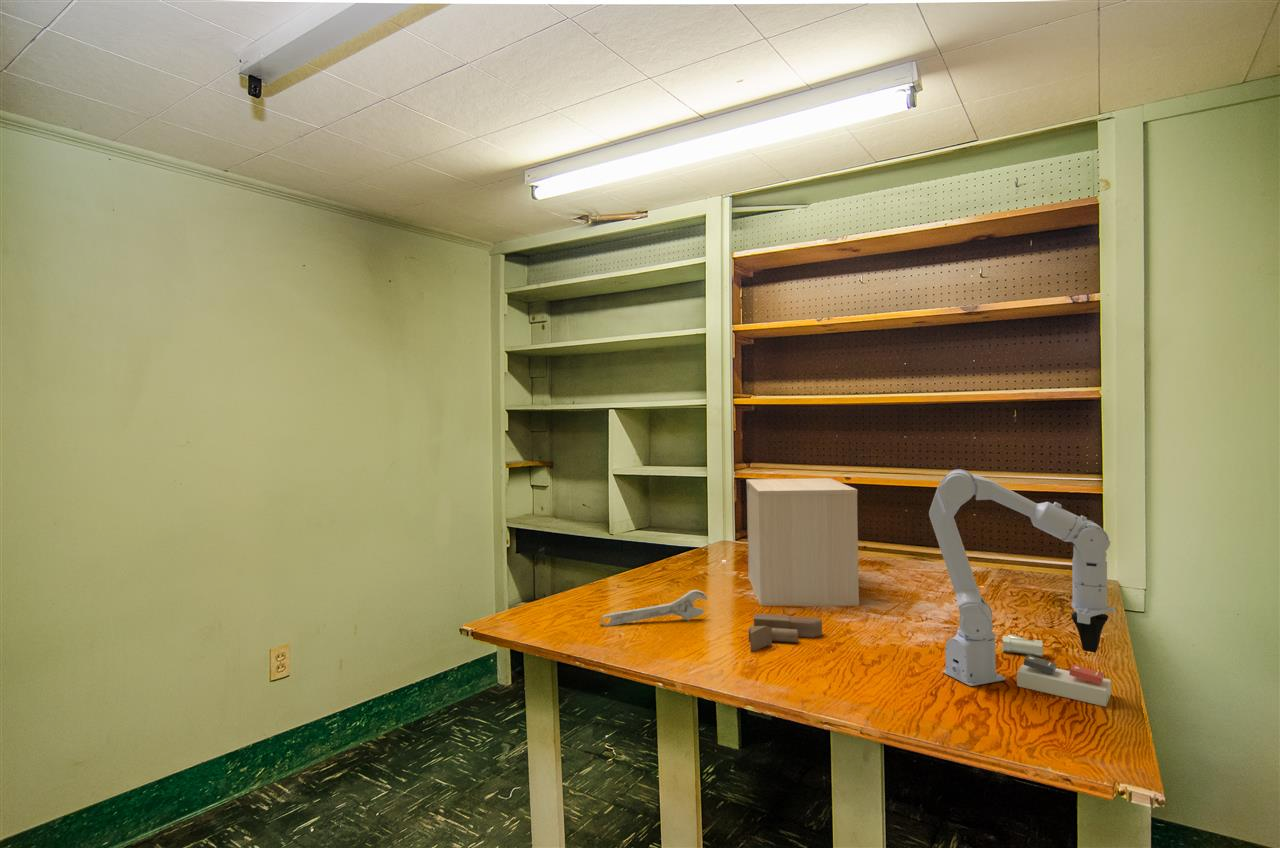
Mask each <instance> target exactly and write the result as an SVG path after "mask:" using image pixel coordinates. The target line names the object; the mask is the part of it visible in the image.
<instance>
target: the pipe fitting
mask: <svg viewBox="0 0 1280 848" xmlns="http://www.w3.org/2000/svg"><path fill="white" fill-rule="evenodd" d="M1002 652H1003V653H1009V654H1011V653H1013V654H1021V655H1026V656H1027V655H1031V656H1034V657H1037V658H1043V657H1044V644H1043V641H1042V640H1039V639H1034V640H1031V639H1028V638H1025V637H1022V636H1019V635H1016V634H1013V633H1012V634H1011V633H1010V634H1008V635H1003V636H1002Z"/></svg>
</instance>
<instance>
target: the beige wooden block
mask: <svg viewBox="0 0 1280 848" xmlns="http://www.w3.org/2000/svg"><path fill="white" fill-rule="evenodd" d="M745 482H746V508H747V509H746V513H747V514H746V515H747V519H746V520H747V521H746V523H747V561H748V562H747V564H748V565H747V566H748V567H747V569H748V573H747V577H748V580H749V582H750V584H751V587H752V589H753V592H754V594H755V597H756V599H757V602H758V604H759V605H760V607H761V606H762V607H764V606H765V607H767V606H768V607H771V606H772V607H775V606H776V607H777V606H779V607H780V606H781V607H783V606H784V607H786V606H790V607H791V606H792V607H793V606H795V607H796V606H800V607H803V606H807V607H808V606H810V607H812V606H818V607H819V606H821V607H823V606H831V607H832V606H836V607H837V606H838V607H839V606H841V607H842V606H843V607H844V606H845V607H846V606H850V607H853V606H856V607H857V606H860V600H859V599H860V594H859V593H860V592H859V591H860V587H859V582H860V581H859V532H858V529H859V527H858V521H859V520H858V489H857V488H855V487H852V486H851V485H848V484H844V483H843V482H840V481H837V480H835V479H833V478H831V477H828V478H826V477H824V478H823V477H822V478H820V477H817V478H814V477H813V478H762V479H761V478H760V479H758V478H753V479H752V478H750V479H749V478H748V479H747V478H746V481H745Z"/></svg>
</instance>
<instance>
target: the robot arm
mask: <svg viewBox="0 0 1280 848" xmlns="http://www.w3.org/2000/svg"><path fill="white" fill-rule="evenodd" d="M973 496H975V500H976V501H987V500H991V501H993V502H996V503H998V504H1000V505H1002V506H1004V507H1007V508H1009V509H1011V510H1014V511H1016V512H1019V513H1020V514H1022V515H1024V516H1027V517H1029V519H1030V522H1031V524H1032V526H1033V527H1035V528H1037V529H1039V530H1041V531H1043V532H1044V533H1047V534H1049V535H1051V536H1053V537H1055V538H1056V539H1057V538H1058V539H1059V540H1061V541H1063V542H1065V543H1066V542H1067V543H1069V542H1070V543H1072V544H1073V548H1072V549H1073V556H1072V560H1071V561H1072V563H1071V564H1072V568H1071V569H1072V572H1071V573H1072V577H1071V579H1072V586H1071V587H1072V601H1071V602H1070V604H1071V605H1070V606H1071V609H1073V610H1074V612H1073V613H1072V614H1071V620H1072V621H1073V624H1074V625H1075V627H1076V629H1077V632H1078V635H1079V639H1080V643H1081V647H1082V649H1083V651H1084V652H1089V653H1095V654H1096V653H1097V651H1098V649H1099V645H1100V639H1101V635H1102V632H1103V629H1104V626H1105V624H1106V623H1107V621H1108V620H1109V615H1107V614H1106V613H1109V614H1114V613H1115V611H1116V608H1115V607H1113V606H1109V605H1108V561H1107V557H1108V556H1107V555H1108V554H1107V550H1108V549H1109V547H1110V546H1111V540H1110V539H1109V535H1108V534H1107V532H1106V530H1105V529H1103V528H1102V527H1101V526H1100V525H1099V524H1097V523H1095V522H1094V521H1093V520H1090V519H1088V518H1087V517H1086V516H1084V515H1080V516H1079V515H1077V514H1074V513H1072V512H1070V511H1069V510H1066V509H1064V508H1063V506H1062V504H1061V503H1060V502H1059V503H1058V502H1057V501H1054V502H1053V503H1051V502H1050V501H1045V502H1040V503H1036V502H1034V501H1033V500H1030V499H1029V498H1027V497H1025V496H1023V495H1021V494H1019V493H1017V492H1015V491H1013V490H1011V489H1010V488H1007V487H1005V486H1003V485H1001V484H1000V483H998V482H996V481H993V480H991V479H990V478H989V479H988V478H987V477H983V476H981V475H978V474H975V473H973V474H972V473H970V472H969V471H967V470H965V469H960V468H957V469H953V470H951V471H949V472H948V473H946V474H945V476H944V478H943V479H942V480H940V482H939V483H938V486H937V487H936V490H935V494H934V497H933V499H932V502H931V505H930V507H929V511H928V516H929V520H930V523H931V525H932V528H933V531H934V534H935V537H936V540H937V542H938V546H939V550H940V552H941V554H942V558H943V560H944V564H945V567H946V570H947V573H948V576H949V578H950V582H951V585H952V588H953V591H954V594H955V599H956V603H957V608H958V609H959V618H958V625H959V627H958V628H957V633H956V634H955V635H954V636H953V637H951V638H949V639H948V640H946V642H945V649H944V654H945V659H944V660H945V661H944V662H945V669H943V670H942V673H943V674H945V675H947V676H948V677H952V678H953V679H955V680H958V681H959V682H961V683H963V684H965V685H967V686H970V687H974V686H975V687H976V686H979V685H984V684H990V683H995V682H997V683H998V682H1001V681H1006V679H1007V678H1006V677H1005V676H1003V675H1001V674H999V673H996V670H997V669H996V666H997V665H996V634H995V632H993V628H994V625H993V620H992V619H993V611H992V609H991V606H990V605H989V604H988V603H987V602H986V600H985V599H984V598H983V596H982V594H981V591H980V589H979V587H978V584H977V582H976V578H975V575H974V573H973V570H972V568H971V564H970V562H969V558H968V556H967V552H966V549H965V546H964V544H963V541H962V538H961V535H960V532H959V529H958V526H957V523H956V520H955V518H954V517H955V515H956V514H957V512H958V511H959V510H960V507H962V505H964V504H966V502H968V501H970V500H971V499H972V497H973Z"/></svg>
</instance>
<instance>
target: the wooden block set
mask: <svg viewBox="0 0 1280 848" xmlns="http://www.w3.org/2000/svg"><path fill="white" fill-rule="evenodd" d="M822 635H823V619H822V618H821V617H807V616H791V615H788V614H775V613H772V614H771V613H770V614H769V613H755V614H754V616H753V625H752V626H749V627H748V639H749V640H750V641H749V642H750V645H749V646H750V652H754V651H759V650H761V649H765V648H768V647H771V646H772V645H773V642H779V643H792V644H793V643H795V644H796V643H798V642H799V638H809V639H810V638H811V639H814V638H817V637H821V636H822Z"/></svg>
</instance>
